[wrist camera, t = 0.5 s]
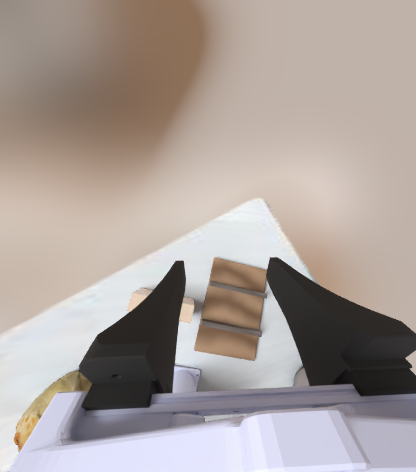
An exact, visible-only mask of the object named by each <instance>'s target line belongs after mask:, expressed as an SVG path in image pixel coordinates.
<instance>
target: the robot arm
mask: <svg viewBox="0 0 416 472" xmlns="http://www.w3.org/2000/svg"><path fill="white" fill-rule="evenodd" d="M266 278H267V281H268V284H269V286H270V288H271V290H272V292H273V294H274V296H275V298H276V300H277V302H278V304H279V306H280V308H281V310H282V312H283V314H284V316H285V318H286V320H287V323H288V325H289V328H290V330H291V333H292V335H293V338H294V341H295V343H296V346H297V349H298V352H299V354H300V357H301V360H302V363H303V366H304V369H305V373H306V376H307V379H308V382H309V385H310V386H304V387H284V388H264V389H244V390H224V391H204V392H196V391H197V386H198V382H199V377H200V370H199V369H193V368H186V367H180V366H175V355H176V344H177V334H178V325H179V318H180V313H181V308H182V303H183V298H184V293H185V284H186V276H185V268H184V261H176V262H175V263H174V264H173V266H172V267H171V269H170V270H169V272H168V273H167V274H166V276H165V277H164V278H163V280H162V281H161V282H160V283H159V284H158V285H157V287H156V288H155V289H154V290H153V291H152V292H151V293H150V294H149V295H148V296H147V297H146V298H145V299H144V300H143V301H142V302H141V303H140V304H139V305H138V306H136V307H135V308H134V309H133V310H132V311H130V312H129V313H128V314H127V315H125V316H124V317H123V318H121V319H120V320H119V321H117V322H116V323H115V324H113V325H112V326H110V327H109V328H107V329H106V330H104V331H103V332H101V333H100V334H98V335H97V337H96V338H95V340H94V341H93V343H92V344H91V346H90V348H89V350H88V351H87V353H86V355H85V356H84V358H83V360H82V362H81V363H80V365H79V370H80V372H81V373H82V375H83V376H85V377H86V378H87V379H88V380H89V381H90V382H91V383H92V385H91V387H90V389H89V391H88V392H85V391H66V392H58V393H56V394H55V396H54V397H53V399H52V401H51V402H50V404H49V405H48V407H47V409H46V410H45V412H44V413H43V415H42V417H41V418H40V420H39V422H38V423H37V425H36V426H35V428H34V430H33V431H32V433H31V434H30V436H29V438H28V439H27V441H26V443H25V444H24V446H23V447H22V449H21V451H20V452H19V454H18V455H17V457H16V459H15V460H14V462H13V464H12V465H11V467H10V468H9V470H8V472H416V375H415V374H414V373H413V372H412V371H411V370H410V369H409V368H412V365H411V364H410V363H409V362H408V361H407V360H406V359H405V358H406V357H407V356H409V355H410V354H411V353H412V352H414V351H415V350H416V333H414V332H413V331H412V330H411V329H410V328H409V327H407V326H406V325H405V324H404V323H403V322H401V321H399V320H396V319H393V318H390V317H388V316H385V315H383V314H380V313H377V312H375V311H372V310H370V309H367V308H365V307H363V306H360V305H358V304H356V303H353V302H351V301H349V300H347V299H345V298H342V297H341V296H338V295H336V294H334V293H332V292H330V291H329V290H327V289H325V288H323V287H321V286H320V285H318V284H316V283H315V282H313V281H311V280H310V279H308V278H307V277H305V276H304V275H302V274H301V273H299V272H298V271H296V270H295V269H293V268H292V267H291V266H289V265H288V264H286V263H285V262H284V261H282V260H281V259H279V258H278V257H273V258H270V260H269V264H268V269H267V273H266ZM197 374H199V375H197ZM245 413H251V414H248V415H246V416H241V417H234V418H228V419H221V420H214V421H208V422H205V418H204V417H203V416H207V415H226V414H245Z"/></svg>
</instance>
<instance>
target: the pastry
mask: <svg viewBox="0 0 416 472" xmlns="http://www.w3.org/2000/svg"><path fill="white" fill-rule="evenodd" d="M91 385H92V383H91V382H90V381H89V380H88V379H87V378H86V377H85V376H83V375H82V373H81V372H80V371H73V372H70V373H68V374H66V375H65V376H63V377H62V378H59V379H58V380H57V381H56V382H54V383H53V384H52V385H50V386H49V387H48V388H47V389H46V390H45V391H44V392H43V393H42V394H41V395H40V396H39V397H38V398H36V399H35V401H34V402H33V403H32V404H31V405H30V407H29V408H28V409H27V410H26V411H25V413H24V414H23V416H22V417H21V419H20V421H19V422H18V423H17V427H16V434H15V437H14V442H15V444H16V445H18V451H19V452H20V451H21V449H22V447H23V446H24V444H25V443H26V441H27V439H28V438H29V436H30V434H31V433H32V431H33V430H34V428H35V426H36V425H37V423H38V422H39V420H40V418H41V417H42V415H43V413H44V412H45V410H46V409H47V407H48V405H49V404H50V402H51V401H52V399H53V397H54V396H55V394H56V393H58V392H66V391H85V392H88V391H89V389H90V387H91Z"/></svg>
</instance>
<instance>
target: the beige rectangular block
mask: <svg viewBox="0 0 416 472" xmlns="http://www.w3.org/2000/svg"><path fill="white" fill-rule="evenodd" d="M152 291H153V290H149V289H144V288H140V289H138V290H137V291H135V292H133V293H132V296H131V299H130V302H129V306H128V309H127V311H129V312H130V311H132V310H133V309H134V308H135V307H136V306H138V305H139V304H140V303H141V302H142V301H143V300H144V299H145V298H146V297H147V296H148V295H149V294H150V293H151V292H152ZM194 306H195V305H194V300H193V299H191V298H187V297H184V298H183V303H182V308H181V313H180V318H179V321H181V322H187V323H191V319H192V315H193V311H194Z"/></svg>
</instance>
